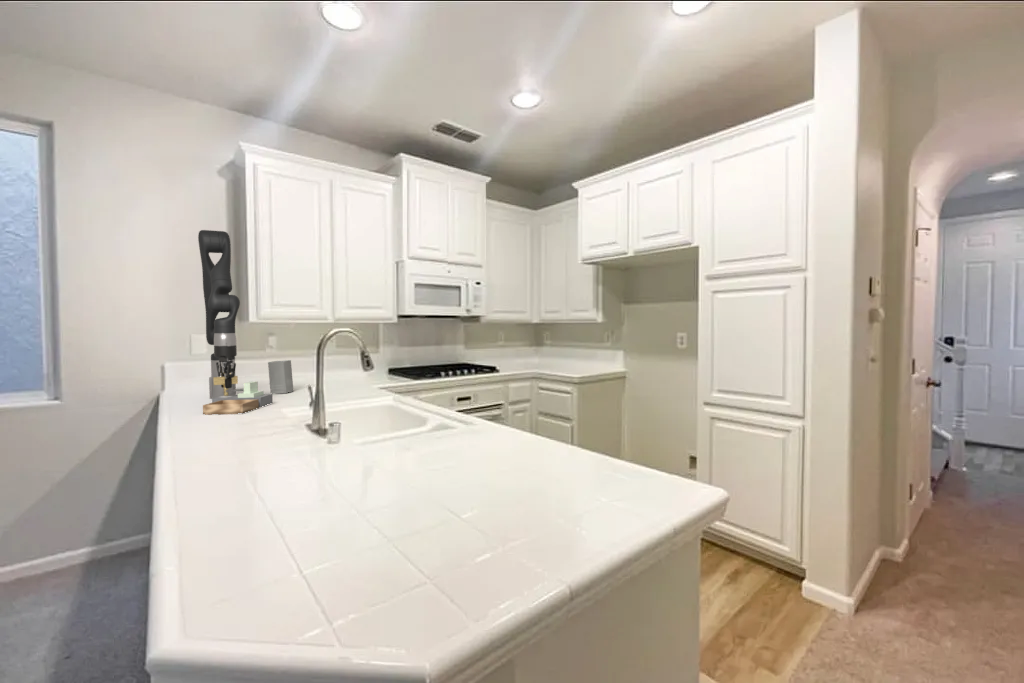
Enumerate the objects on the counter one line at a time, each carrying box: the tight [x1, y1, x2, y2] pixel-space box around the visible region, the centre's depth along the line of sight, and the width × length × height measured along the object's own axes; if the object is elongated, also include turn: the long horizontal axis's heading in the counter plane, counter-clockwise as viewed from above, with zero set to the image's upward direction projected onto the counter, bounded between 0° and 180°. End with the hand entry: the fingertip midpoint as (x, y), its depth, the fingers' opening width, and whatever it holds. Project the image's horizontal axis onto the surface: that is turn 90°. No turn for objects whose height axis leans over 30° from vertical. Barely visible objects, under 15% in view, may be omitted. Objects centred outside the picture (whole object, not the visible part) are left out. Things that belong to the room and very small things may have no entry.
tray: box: [202, 399, 260, 416], centre depth 163 cm, size 14×12×4 cm
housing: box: [211, 393, 274, 408], centre depth 175 cm, size 18×10×4 cm, turn 95°
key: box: [213, 375, 244, 396], centre depth 175 cm, size 12×2×8 cm, turn 123°
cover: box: [237, 381, 265, 398], centre depth 175 cm, size 6×8×6 cm
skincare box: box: [267, 360, 294, 394], centre depth 213 cm, size 8×7×16 cm
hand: (226, 387), depth 175 cm, fingers closed on key, 3 cm apart
